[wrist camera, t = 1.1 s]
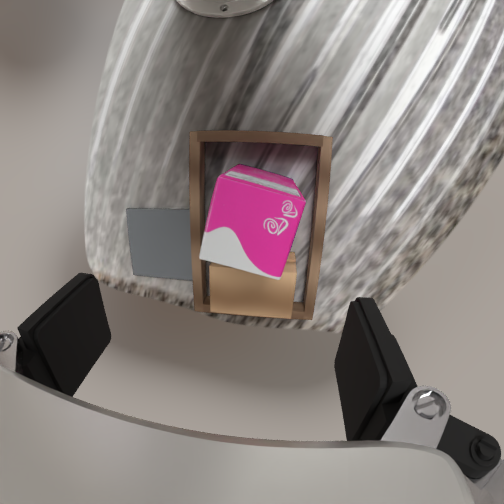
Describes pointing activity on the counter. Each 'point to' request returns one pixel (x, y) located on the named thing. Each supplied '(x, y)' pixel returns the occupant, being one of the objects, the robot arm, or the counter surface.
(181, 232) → the mat
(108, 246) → the counter surface
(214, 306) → the offcut upper
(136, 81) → the counter surface
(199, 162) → the wooden frame tray
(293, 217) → the supplement box
